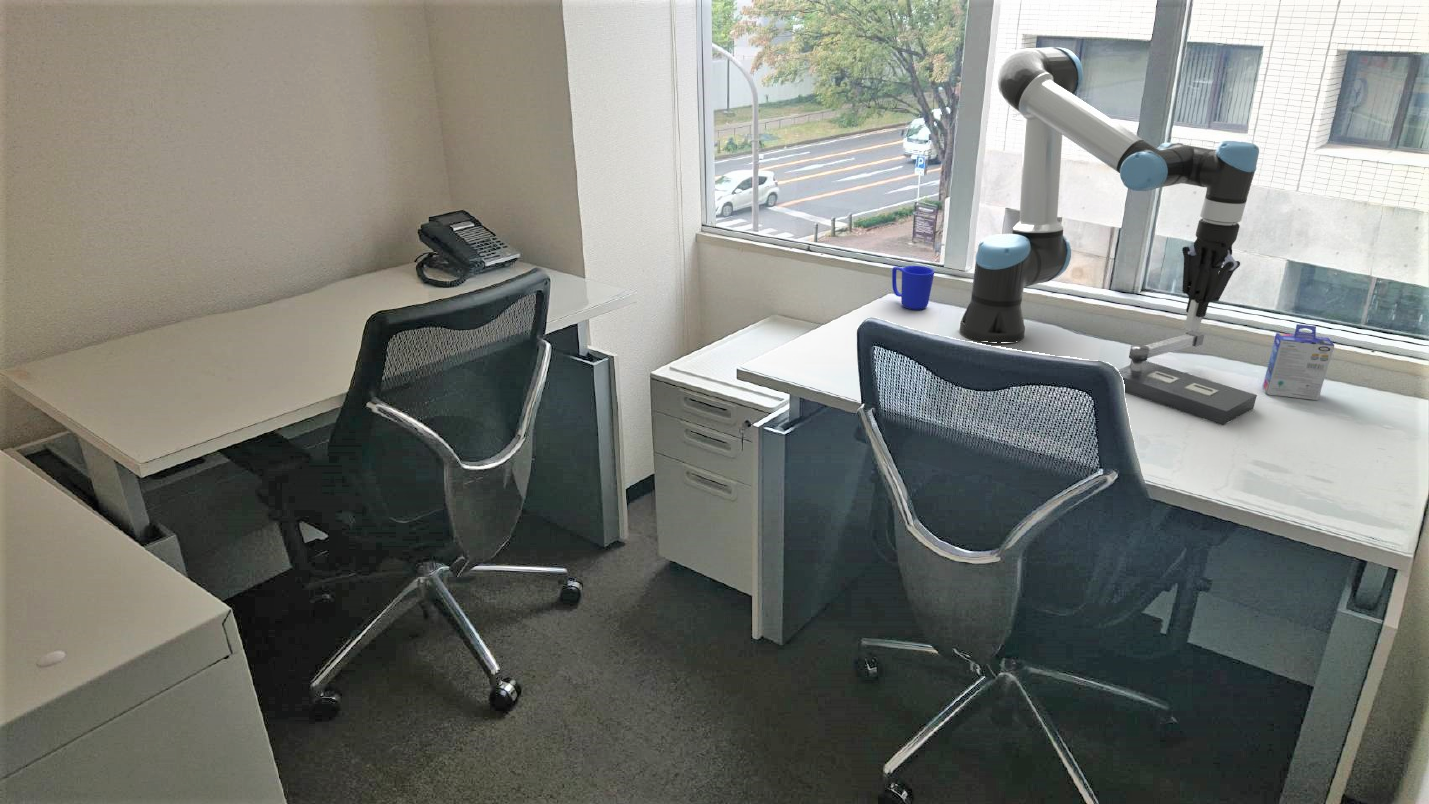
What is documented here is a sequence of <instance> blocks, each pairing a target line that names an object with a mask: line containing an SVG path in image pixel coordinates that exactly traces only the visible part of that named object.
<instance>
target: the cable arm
mask: <svg viewBox="0 0 1429 804" xmlns="http://www.w3.org/2000/svg"><path fill="white" fill-rule="evenodd" d="M1204 338H1205V334H1204V333H1201V332H1198V331H1196V330H1194V331H1187V332H1185V334H1183V335H1178V336H1176V337H1171V338H1167V339H1163V340H1159V341H1156V342H1152V343H1148V344H1146V345H1144V344H1132V345H1131V346H1130V349H1129V353H1128V354H1129V355H1128V358H1129V359H1130V360H1131V359H1132V360H1135V361H1148V359H1149V358H1150V359H1151V358H1152V357H1157V356H1159V355H1164V354H1167V353H1170V352H1174V351H1179V350H1182V349H1184V348H1185V349H1186V348H1189V347H1199V346H1202V345H1203V343H1204Z"/></svg>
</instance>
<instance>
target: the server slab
mask: <svg viewBox="0 0 1429 804" xmlns="http://www.w3.org/2000/svg"><path fill="white" fill-rule="evenodd" d="M1118 370H1119V372H1120V374H1121V376H1122V377H1123V380H1124V384H1125V392H1124V393H1126V394H1130V395H1133V396H1135V397H1137V398H1141V399H1144V400H1147V401H1151V402H1152V403H1156V404H1159V405H1161V406H1165V407H1167V408H1170V409H1173V410H1176V411H1179V412H1182V413H1186V414H1188V415H1190V416H1194V417H1198V418H1200V419H1203V420H1206V421H1209V422H1211V423H1214V424H1218V425H1221V426H1225V425H1226V424H1228V423H1230V422H1231V421H1232V422H1233V421H1234V420H1235V419H1238V418H1239V417H1240V416H1243V415H1244V414H1246V413H1248V412H1250V411H1252V410H1254V408H1255V405H1256V400H1257V396H1258V395H1257V394H1255V393H1252V392H1248V391H1245V390H1241V389H1239V388H1235V387H1231V386H1230V385H1226V384H1223V383H1219V382H1216V381H1213V380H1209V379H1206V378H1203V377H1200V376H1197V375H1194V374H1190V373H1187V372H1183V371H1181V370H1177V369H1174V368H1172V367H1171V368H1170V367H1167V366H1164V365H1161V364H1158V363H1154V362H1151V361H1148V360H1146V361H1135V360H1132V359H1130V364H1128V365H1126V366H1124V367H1121V368H1120V369H1118Z"/></svg>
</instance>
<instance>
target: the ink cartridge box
mask: <svg viewBox="0 0 1429 804" xmlns="http://www.w3.org/2000/svg"><path fill="white" fill-rule="evenodd" d="M1304 329H1307V330H1310V331H1312V332H1304V331H1303V332H1302V331H1299V330H1304ZM1316 334H1317V326H1314V325H1307V324H1306V325H1305V324H1298V323H1296V326H1295V330H1294V333H1293V334H1292V333H1291V334H1289V333H1281V332H1276V333H1275V337H1274V341H1273V344H1272V348H1271V353H1270V356H1269V360H1268V364H1267V368H1266V371H1265V375H1264V379H1263V383H1262V389H1263V392H1264V393H1265V394H1266V395H1271V396H1280V397H1290V398H1297V399H1303V400H1304V399H1305V400H1313V401H1319V399H1320V395H1321V391H1322V387H1323V386H1324V385H1323V384H1324V382H1325V378H1326V374H1327V371H1328V368H1329V364H1330V361H1331V357H1332V354H1333V351H1334V349H1335V344H1334V342H1332V340H1331V339H1330V338H1329V337H1325V336H1317V335H1316Z"/></svg>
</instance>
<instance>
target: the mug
mask: <svg viewBox="0 0 1429 804" xmlns="http://www.w3.org/2000/svg"><path fill="white" fill-rule="evenodd" d="M897 271H900V272H901V293H900V292H899V291H898V286H897ZM891 272H892V274H891V281H892V282H891V283H892V284H891V285H892V292H893V293H894V295H895V296H896V297H900V301H901V304H902V306H903V307H904V308H906V309H908V310H915V311H917V310H924V309H927V307H928V305H929V301H930V296H931V291H932V287H933V286H932V285H933V281H934V275H935V270H934V269H933V268H930V267H928V266H923V265H922V266H921V265H909V266H904V267H901V266H894V267H892V271H891Z"/></svg>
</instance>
